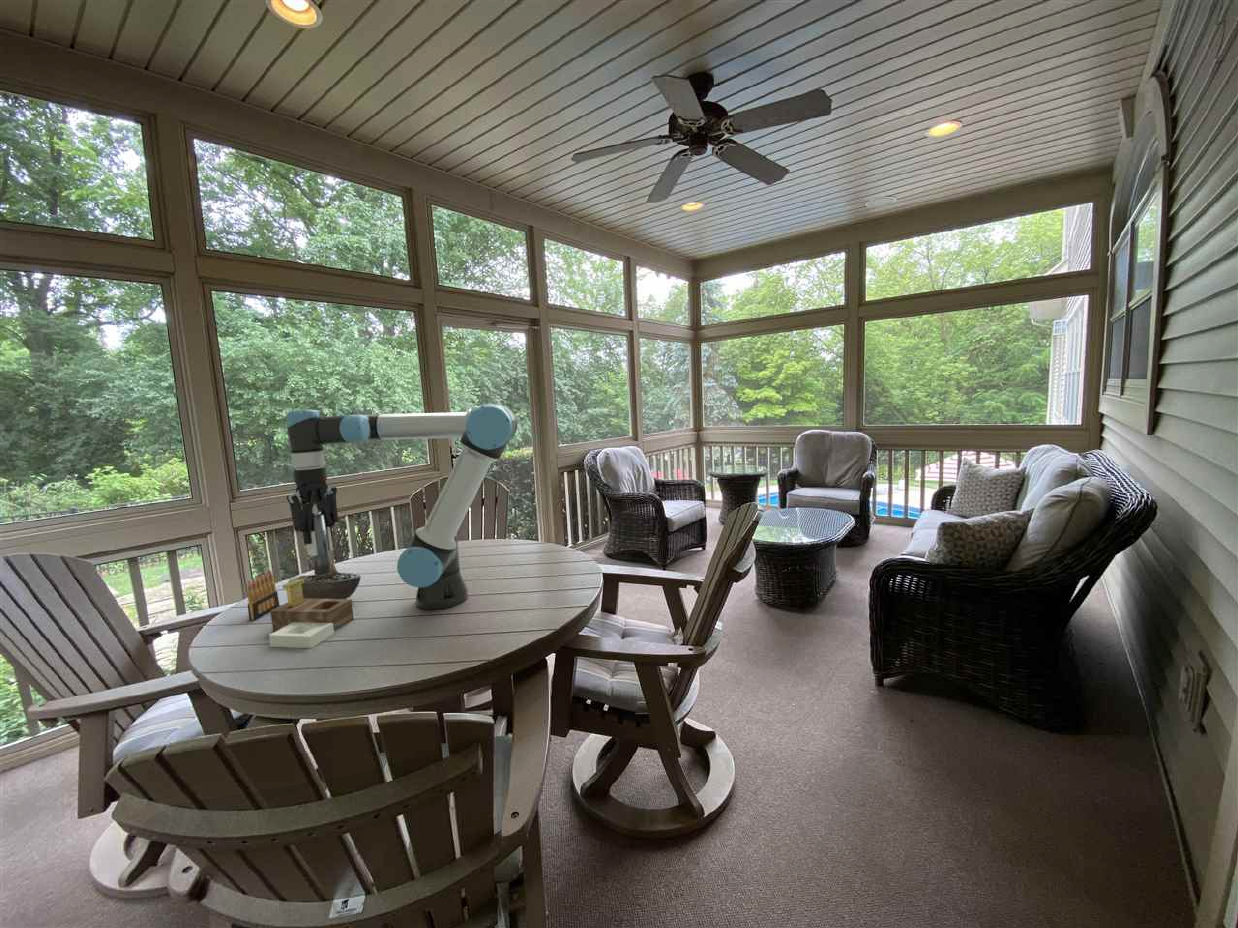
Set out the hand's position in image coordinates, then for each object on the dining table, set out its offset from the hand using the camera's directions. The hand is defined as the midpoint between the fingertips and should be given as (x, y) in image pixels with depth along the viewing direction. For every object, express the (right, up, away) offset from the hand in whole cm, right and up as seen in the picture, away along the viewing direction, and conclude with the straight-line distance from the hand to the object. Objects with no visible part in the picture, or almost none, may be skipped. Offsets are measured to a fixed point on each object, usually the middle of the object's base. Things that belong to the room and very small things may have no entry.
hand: (320, 552), depth 139 cm
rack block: (-1, -22, -6) cm, 23 cm away
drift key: (-9, -19, +4) cm, 21 cm away
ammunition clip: (-25, -21, +14) cm, 36 cm away
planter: (-9, -20, +19) cm, 29 cm away
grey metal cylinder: (0, -6, +1) cm, 6 cm away
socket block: (-4, -21, +3) cm, 22 cm away
